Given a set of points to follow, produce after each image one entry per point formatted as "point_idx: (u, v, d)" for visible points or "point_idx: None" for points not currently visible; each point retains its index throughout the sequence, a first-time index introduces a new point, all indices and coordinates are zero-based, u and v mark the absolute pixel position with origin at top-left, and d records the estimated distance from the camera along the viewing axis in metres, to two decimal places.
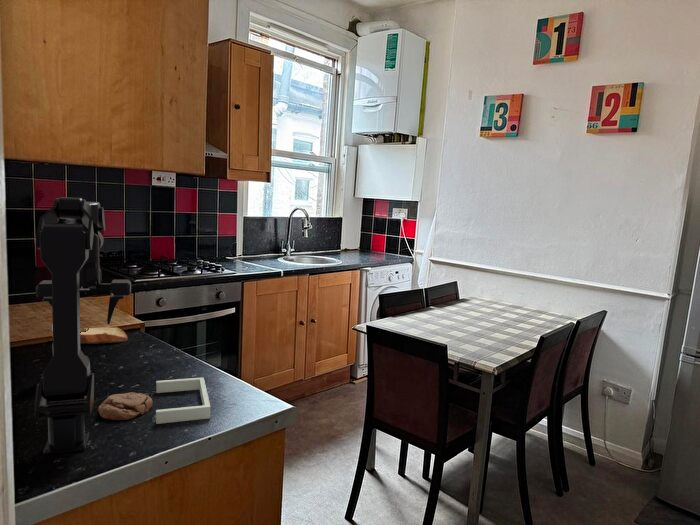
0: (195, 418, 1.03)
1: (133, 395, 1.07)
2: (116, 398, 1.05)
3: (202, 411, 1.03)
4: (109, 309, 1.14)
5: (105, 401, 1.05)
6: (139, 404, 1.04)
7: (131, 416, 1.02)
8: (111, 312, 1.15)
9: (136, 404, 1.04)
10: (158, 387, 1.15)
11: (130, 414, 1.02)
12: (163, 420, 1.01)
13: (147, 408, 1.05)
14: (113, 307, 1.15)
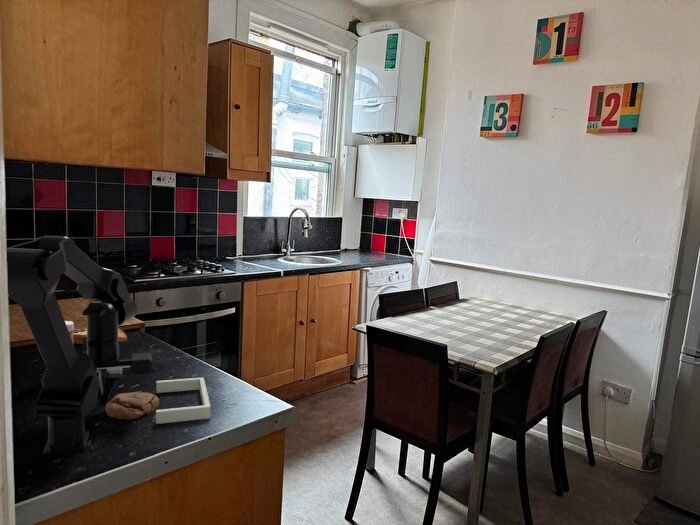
0: (195, 418, 1.03)
1: (140, 394, 1.07)
2: (123, 397, 1.05)
3: (202, 411, 1.03)
4: (105, 390, 1.02)
5: (112, 400, 1.05)
6: (145, 403, 1.05)
7: (137, 415, 1.02)
8: (107, 393, 1.03)
9: (142, 403, 1.04)
10: (158, 387, 1.15)
11: (136, 413, 1.02)
12: (163, 420, 1.01)
13: (153, 407, 1.06)
14: (109, 388, 1.02)
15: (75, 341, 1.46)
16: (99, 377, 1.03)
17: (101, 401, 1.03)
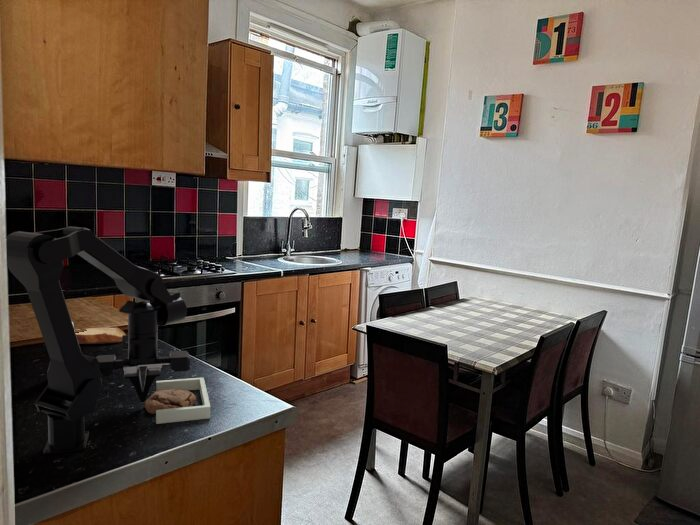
0: (195, 418, 1.03)
1: (177, 391, 1.10)
2: (161, 394, 1.08)
3: (202, 411, 1.03)
4: (145, 387, 1.05)
5: (151, 397, 1.08)
6: (183, 400, 1.07)
7: None
8: (147, 390, 1.05)
9: (180, 400, 1.07)
10: (158, 387, 1.15)
11: None
12: (163, 420, 1.01)
13: (191, 404, 1.08)
14: (149, 385, 1.05)
15: None
16: (139, 374, 1.05)
17: (141, 398, 1.06)
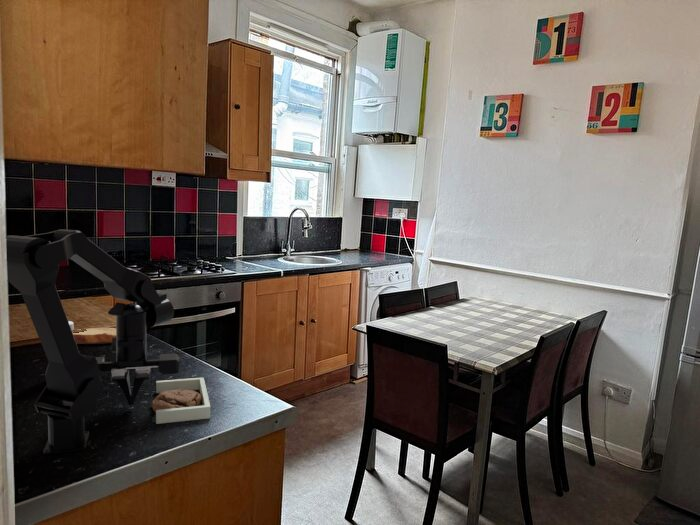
0: (195, 418, 1.03)
1: (184, 391, 1.10)
2: (168, 394, 1.08)
3: (202, 411, 1.03)
4: (133, 390, 1.04)
5: (158, 397, 1.08)
6: (190, 400, 1.07)
7: None
8: (135, 393, 1.04)
9: (187, 400, 1.07)
10: (158, 387, 1.15)
11: None
12: (163, 420, 1.01)
13: (197, 404, 1.09)
14: (138, 388, 1.04)
15: None
16: (127, 377, 1.05)
17: (130, 401, 1.05)
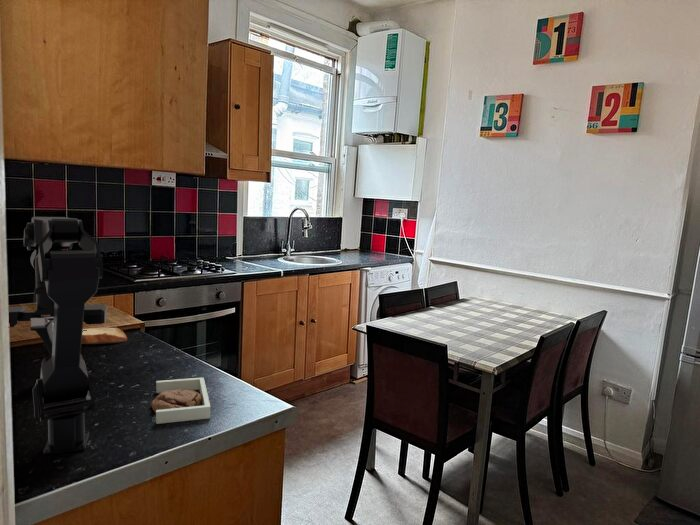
0: (195, 418, 1.03)
1: (184, 391, 1.10)
2: (168, 394, 1.08)
3: (202, 411, 1.03)
4: None
5: (158, 397, 1.08)
6: (190, 400, 1.07)
7: None
8: None
9: (187, 400, 1.07)
10: (158, 387, 1.15)
11: None
12: (163, 420, 1.01)
13: (197, 404, 1.09)
14: None
15: None
16: (49, 327, 0.99)
17: (52, 353, 1.00)
